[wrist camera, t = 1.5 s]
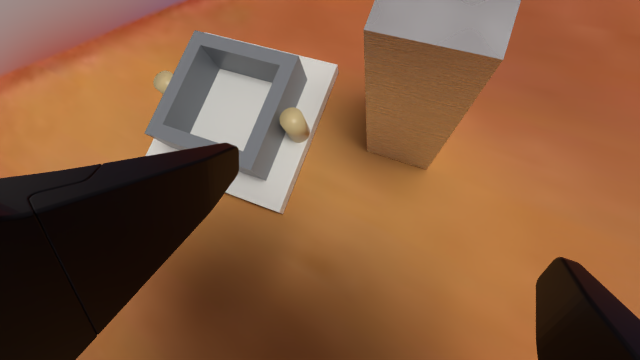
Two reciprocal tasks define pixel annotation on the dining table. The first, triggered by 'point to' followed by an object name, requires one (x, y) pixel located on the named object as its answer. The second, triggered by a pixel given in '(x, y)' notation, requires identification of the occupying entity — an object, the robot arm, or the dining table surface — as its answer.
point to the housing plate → (244, 111)
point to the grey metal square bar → (428, 70)
